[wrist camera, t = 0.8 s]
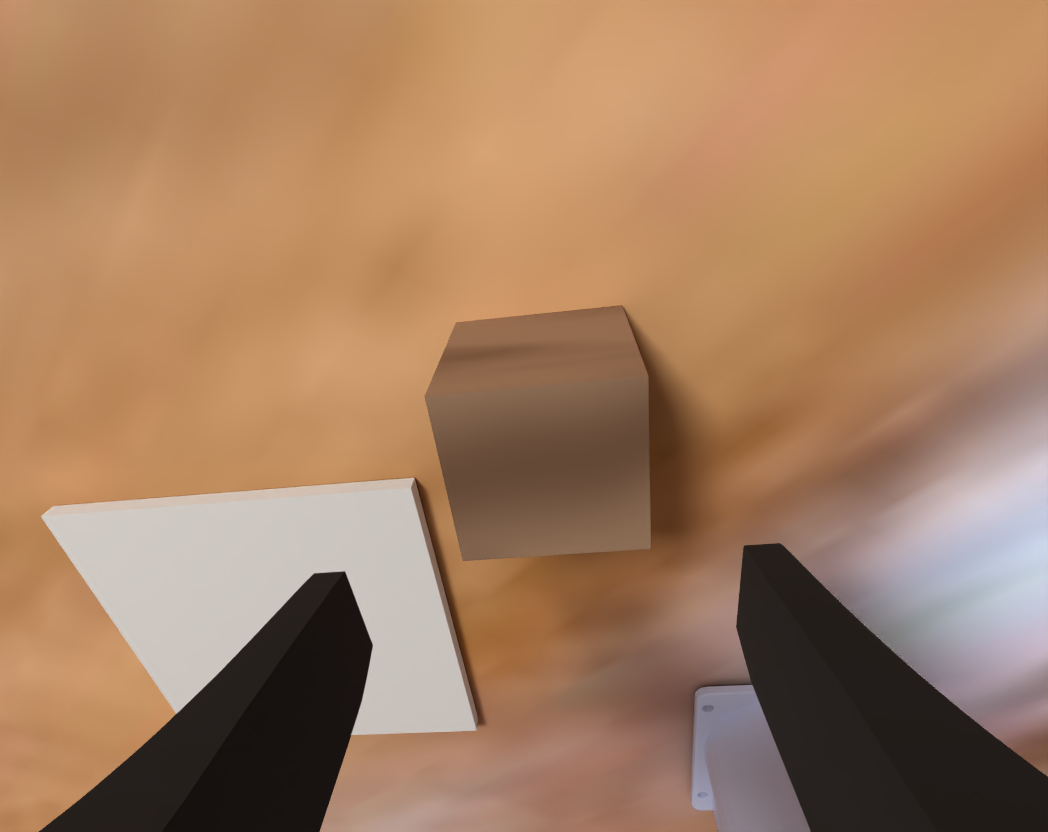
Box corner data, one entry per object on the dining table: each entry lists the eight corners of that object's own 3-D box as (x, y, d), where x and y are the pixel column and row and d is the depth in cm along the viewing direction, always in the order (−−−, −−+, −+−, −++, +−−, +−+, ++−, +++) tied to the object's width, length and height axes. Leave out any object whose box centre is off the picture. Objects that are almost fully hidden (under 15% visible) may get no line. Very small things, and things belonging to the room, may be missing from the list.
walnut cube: (627, 446, 19) (650, 548, 15) (482, 458, 19) (462, 561, 15) (621, 304, 17) (648, 375, 12) (456, 321, 17) (424, 396, 13)
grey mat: (478, 718, 26) (476, 730, 26) (201, 728, 28) (194, 740, 27) (414, 477, 20) (410, 487, 19) (53, 506, 21) (40, 516, 20)
